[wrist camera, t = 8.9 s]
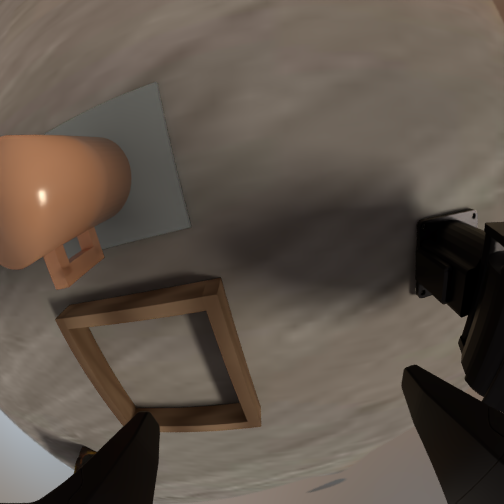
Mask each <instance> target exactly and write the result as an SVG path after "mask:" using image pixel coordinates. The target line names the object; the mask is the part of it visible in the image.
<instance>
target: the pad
mask: <svg viewBox="0 0 504 504" xmlns="http://www.w3.org/2000/svg"><path fill="white" fill-rule="evenodd" d="M44 135H69V136H90V137H103V138H107V139H109V140H111V141H113V142H115V143H116V144H117V145H118V146H119V147H120V148H121V149H122V150H123V152H124V153H125V155H126V157H127V159H128V161H129V165H130V169H131V188H130V192H129V196H128V198H127V201H126V203H125V204H124V206H123V207H122V209H121V210H120V211H119V212H118V213H117V214H116V215H115V216H113V217H112V218H110V219H108V220H106V221H104V222H103V223H101V224H99V225H97V226H95V231H96V234H97V237H98V240H99V243H100V246H101V249H102V250H103V249H107V248H110V247H114V246H118V245H122V244H126V243H129V242H133V241H137V240H141V239H145V238H149V237H153V236H157V235H161V234H165V233H169V232H173V231H178V230H182V229H186V228H190V227H191V222H190V219H189V215H188V211H187V208H186V204H185V200H184V196H183V192H182V188H181V184H180V180H179V176H178V172H177V168H176V164H175V160H174V156H173V152H172V147H171V143H170V139H169V134H168V130H167V125H166V121H165V116H164V112H163V107H162V102H161V97H160V92H159V87H158V83H157V82H154V83H151V84H148V85H146V86H143V87H140V88H138V89H135V90H133V91H130V92H128V93H125V94H123V95H120V96H118V97H116V98H113V99H111V100H109V101H106V102H104V103H102V104H100V105H98V106H96V107H94V108H91V109H89V110H87V111H85V112H83V113H81V114H79V115H77V116H76V117H74V118H72V119H70V120H68V121H66V122H64V123H63V124H61V125H59V126H57V127H55V128H54V129H52V130H50V131H49V132H47V133H45V134H44ZM63 246H64V249H65V252H66V255H67V257H68V259H69V258H71V257H72V256H74V255H75V254H77V253H78V252H80V251H81V247H80V244H79V241H78V238H77V237H75V238H73V239H72V240H70V241H68V242H66V243H65V244H63Z"/></svg>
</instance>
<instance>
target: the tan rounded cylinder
mask: <svg viewBox="0 0 504 504" xmlns="http://www.w3.org/2000/svg"><path fill="white" fill-rule="evenodd" d="M130 188H131V169H130V165H129V161H128V159H127V157H126V155H125V153H124V152H123V150H122V149H121V148H120V147H119V146H118V145H117V144H116V143H115V142H113V141H111V140H109V139H107V138H103V137H90V136H69V135H8V136H2V137H0V265H2V266H4V267H6V268H8V269H13V270H19V269H23V268H25V267H27V266H29V265H30V264H32V263H33V262H35V261H37V260H38V259H40V258H41V257H44V260H45V262H46V265H47V268H48V270H49V273H50V275H51V278H52V280H53V283H54V285H55V288H56V290H58V289H63V288H67V287H70V286H71V285H72V284H73V283H74V282H76V281H77V280H78V279H79V278H80V277H81V276H83V275H84V274H85V273H86V272H87V271H89V270H90V269H91V268H92V267H93V266H95V265H96V264H97V263H98V262H100V261H101V260H102V259H103V258H105V257H104V254H103V251H102V249H101V246H100V243H99V240H98V237H97V234H96V231H95V226H97V225H99V224H101V223H103V222H104V221H106V220H108V219H110V218H112V217H113V216H115V215H116V214H117V213H118V212H119V211H120V210H121V209H122V207H123V206H124V204H125V203H126V201H127V198H128V196H129V192H130ZM75 237H77V238H78V241H79V244H80V247H81V251H80V252H78V253H77V254H75V255H74V256H72V257H71V258H69V259H68V257H67V255H66V252H65V249H64V246H63V244H65V243H66V242H68V241H70V240H72V239H73V238H75Z"/></svg>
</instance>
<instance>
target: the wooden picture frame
mask: <svg viewBox="0 0 504 504" xmlns="http://www.w3.org/2000/svg"><path fill="white" fill-rule="evenodd" d="M201 311H206V312H207V315H208V318H209V320H210V323H211V326H212V329H213V332H214V335H215V338H216V341H217V343H218V346H219V349H220V352H221V354H222V357H223V360H224V363H225V365H226V368H227V371H228V373H229V376H230V378H231V381H232V384H233V386H234V389H235V391H236V394H237V396H238V399H239V402H240V403H234V404H225V405H214V406H201V407H183V408H136V407H135V405H134V404H133V402H132V401H131V399H130V398H129V396H128V395H127V393H126V392H125V390H124V389H123V387H122V385H121V384H120V382H119V381H118V379H117V378H116V376H115V374H114V373H113V371H112V369H111V368H110V366H109V364H108V363H107V361H106V359H105V357H104V356H103V354H102V352H101V350H100V348H99V347H98V345H97V343H96V341H95V339H94V337H93V335H92V333H91V331H90V329H89V327H93V326H102V325H111V324H119V323H126V322H134V321H141V320H149V319H156V318H163V317H169V316H176V315H182V314H188V313H195V312H201ZM55 320H56V322H57V324H58V326H59V328H60V330H61V332H62V334H63V336H64V338H65V339H66V341H67V343H68V345H69V347H70V348H71V350H72V352H73V354H74V355H75V357H76V359H77V360H78V362H79V364H80V365H81V367H82V369H83V370H84V372H85V373H86V375H87V376H88V378H89V379H90V381H91V382H92V384H93V385H94V387H95V388H96V390H97V391H98V393H99V394H100V396H101V397H102V398H103V400H104V401H105V403H106V404H107V405H108V407H109V408H110V409H111V411H112V412H113V413H114V415H115V416H116V417H117V419H118V420H119V421H120V422H121V424H122V425H123V426H124V425H125V424H126V423H127V422H128V421H129V420H130V419H131V418H132V417H134V416H135V415H136V414H137V413H138V412H139V411H149V412H150V413H151V414H152V415H153V417H154V418H155V420H156V421H157V422H158V424H159V426H160V432H203V431H220V430H233V429H243V428H252V427H260V426H261V406H260V403H259V400H258V397H257V394H256V391H255V388H254V385H253V382H252V379H251V376H250V373H249V370H248V367H247V363H246V360H245V357H244V354H243V351H242V347H241V344H240V341H239V338H238V334H237V331H236V328H235V324H234V321H233V318H232V314H231V311H230V308H229V304H228V301H227V297H226V294H225V290H224V287H223V283H222V280H221V278H216V279H211V280H206V281H201V282H196V283H190V284H185V285H180V286H174V287H169V288H164V289H158V290H153V291H147V292H142V293H136V294H131V295H125V296H119V297H114V298H108V299H102V300H96V301H90V302H84V303H79V304H73V305H69V306H68V307H67V308H66V309H65V310H64V311H63V312H62V313H61V314H60V315H59V316H58V317H57V318H56V319H55Z"/></svg>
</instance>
